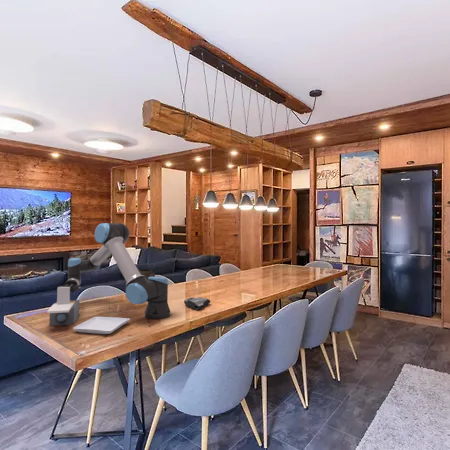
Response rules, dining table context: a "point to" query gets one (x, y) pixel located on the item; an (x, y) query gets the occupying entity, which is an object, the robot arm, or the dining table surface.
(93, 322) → the salad plate
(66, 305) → the side cover
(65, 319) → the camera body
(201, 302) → the dark grey flat lump
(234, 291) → the dining table surface
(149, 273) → the beer stein
